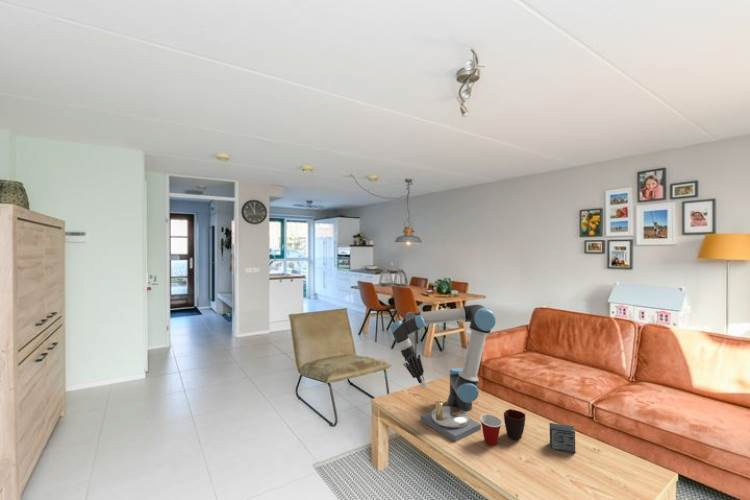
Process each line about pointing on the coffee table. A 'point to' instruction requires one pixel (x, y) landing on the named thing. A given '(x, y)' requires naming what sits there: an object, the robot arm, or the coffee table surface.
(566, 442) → the small box
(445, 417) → the silver disc with stripe
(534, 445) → the coffee table surface
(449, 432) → the stand
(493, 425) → the plastic cup
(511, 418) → the mug
